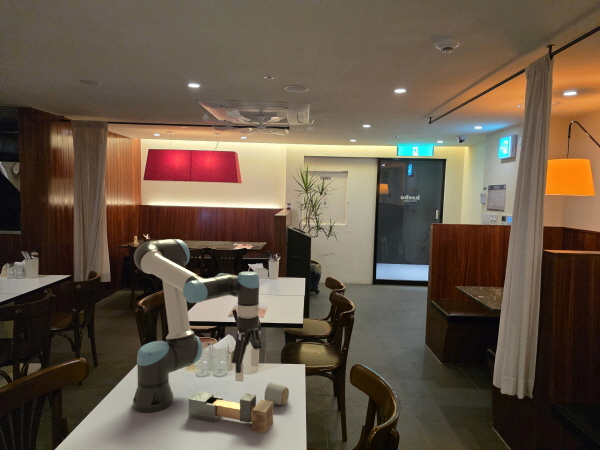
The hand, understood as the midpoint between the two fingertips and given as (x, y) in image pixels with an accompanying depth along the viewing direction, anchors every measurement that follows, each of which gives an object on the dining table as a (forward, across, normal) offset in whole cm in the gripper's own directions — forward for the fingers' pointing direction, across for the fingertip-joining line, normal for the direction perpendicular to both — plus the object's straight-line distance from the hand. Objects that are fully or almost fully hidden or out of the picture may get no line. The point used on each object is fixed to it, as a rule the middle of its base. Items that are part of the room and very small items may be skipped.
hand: (247, 373), depth 151 cm
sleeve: (+19, 0, +16) cm, 25 cm away
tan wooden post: (+17, 0, +3) cm, 17 cm away
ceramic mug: (+19, +19, -5) cm, 27 cm away
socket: (+19, 0, -6) cm, 20 cm away
